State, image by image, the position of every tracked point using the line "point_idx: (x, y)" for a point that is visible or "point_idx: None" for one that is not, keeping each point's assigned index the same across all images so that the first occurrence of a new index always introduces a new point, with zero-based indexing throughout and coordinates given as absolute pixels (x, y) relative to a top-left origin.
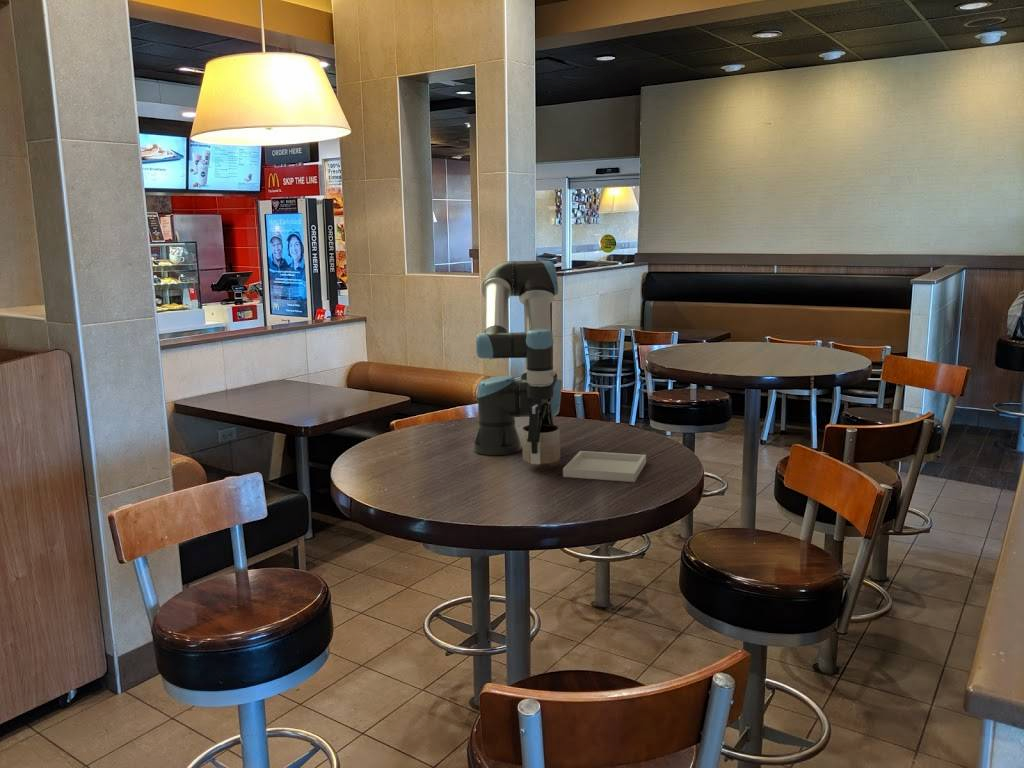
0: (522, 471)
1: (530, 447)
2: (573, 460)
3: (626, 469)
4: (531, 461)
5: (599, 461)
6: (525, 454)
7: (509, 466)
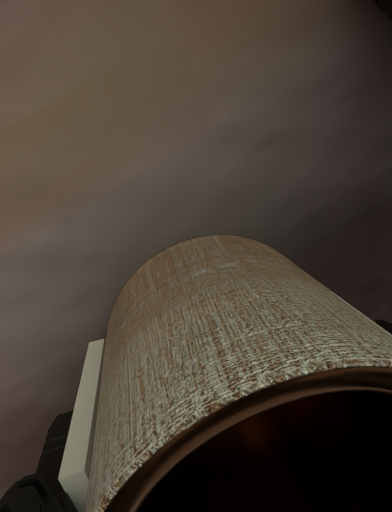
0: (111, 256)
1: (71, 426)
2: None
3: None
4: (88, 355)
5: None
6: (116, 316)
7: (162, 141)
